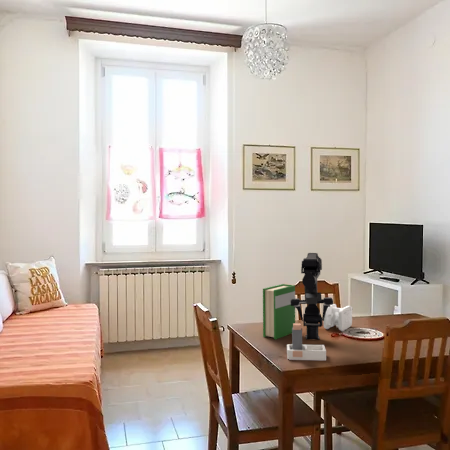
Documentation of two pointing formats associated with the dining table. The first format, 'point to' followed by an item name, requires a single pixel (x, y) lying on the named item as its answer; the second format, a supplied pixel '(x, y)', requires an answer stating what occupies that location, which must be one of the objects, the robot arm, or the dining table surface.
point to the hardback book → (278, 310)
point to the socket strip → (307, 352)
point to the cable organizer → (338, 317)
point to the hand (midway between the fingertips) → (312, 321)
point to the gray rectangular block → (296, 336)
